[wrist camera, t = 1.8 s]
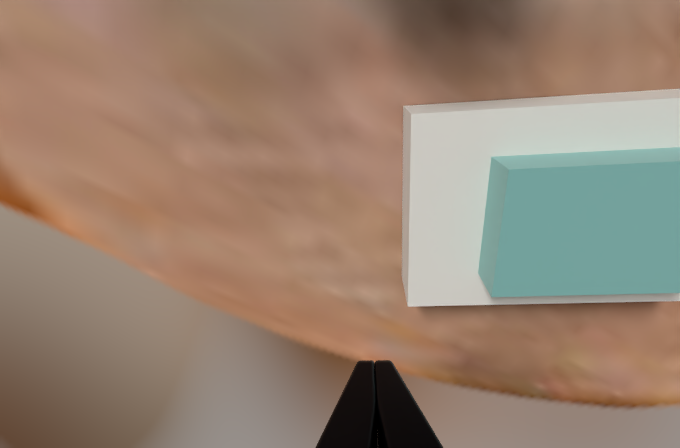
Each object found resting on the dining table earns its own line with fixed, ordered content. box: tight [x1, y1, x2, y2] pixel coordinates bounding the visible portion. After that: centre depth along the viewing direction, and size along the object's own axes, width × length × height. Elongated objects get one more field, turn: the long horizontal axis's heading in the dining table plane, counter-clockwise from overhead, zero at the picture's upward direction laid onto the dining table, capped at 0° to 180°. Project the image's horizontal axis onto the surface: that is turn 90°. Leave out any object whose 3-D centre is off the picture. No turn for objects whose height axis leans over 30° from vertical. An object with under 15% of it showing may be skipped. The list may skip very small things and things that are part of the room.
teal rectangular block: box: [478, 147, 680, 297], centre depth 15 cm, size 9×6×2 cm, turn 94°
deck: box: [402, 89, 680, 306], centre depth 18 cm, size 14×10×3 cm
